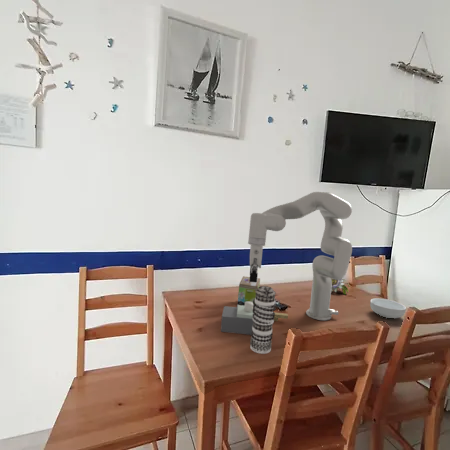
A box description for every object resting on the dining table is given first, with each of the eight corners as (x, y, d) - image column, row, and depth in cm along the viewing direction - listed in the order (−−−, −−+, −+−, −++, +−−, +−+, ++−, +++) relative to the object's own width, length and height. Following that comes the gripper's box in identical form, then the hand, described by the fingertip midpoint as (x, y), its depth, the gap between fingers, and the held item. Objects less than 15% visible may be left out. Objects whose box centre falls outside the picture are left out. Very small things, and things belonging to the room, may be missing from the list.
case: (258, 323, 142) (260, 309, 141) (259, 335, 131) (260, 320, 130) (223, 320, 143) (224, 306, 142) (220, 331, 132) (221, 316, 131)
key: (286, 320, 148) (287, 313, 148) (287, 322, 146) (288, 315, 145) (264, 318, 149) (265, 311, 149) (264, 320, 147) (265, 313, 146)
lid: (259, 310, 140) (259, 300, 140) (259, 319, 130) (260, 308, 130) (237, 308, 141) (238, 297, 141) (236, 317, 131) (237, 306, 131)
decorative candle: (260, 356, 114) (265, 293, 111) (244, 345, 121) (249, 286, 118) (276, 350, 120) (282, 290, 116) (261, 340, 127) (266, 283, 124)
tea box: (255, 314, 153) (258, 286, 151) (236, 311, 155) (238, 283, 153) (258, 303, 168) (260, 277, 166) (240, 300, 170) (242, 275, 168)
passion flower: (330, 301, 196) (320, 282, 199) (339, 294, 204) (329, 276, 207) (345, 296, 187) (334, 276, 190) (355, 289, 195) (344, 270, 198)
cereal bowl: (404, 315, 166) (405, 302, 165) (404, 326, 151) (406, 312, 150) (370, 307, 174) (371, 295, 173) (367, 316, 160) (369, 304, 159)
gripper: (266, 245, 124) (262, 285, 126) (264, 239, 141) (260, 274, 143) (248, 243, 124) (244, 283, 126) (248, 237, 141) (245, 272, 143)
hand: (253, 278), depth 135 cm, fingers open, 9 cm apart
